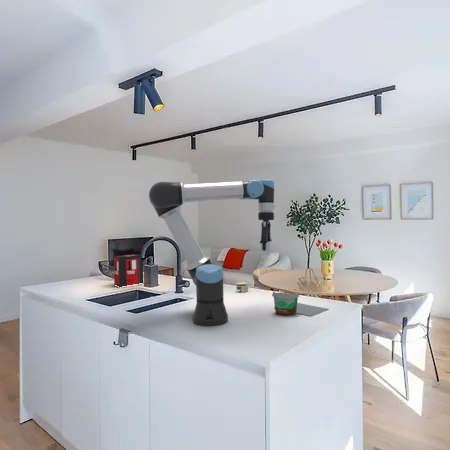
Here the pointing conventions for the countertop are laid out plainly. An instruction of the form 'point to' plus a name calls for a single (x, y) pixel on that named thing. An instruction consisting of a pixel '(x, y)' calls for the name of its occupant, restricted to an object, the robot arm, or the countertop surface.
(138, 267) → the cleaning product box
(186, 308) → the countertop surface
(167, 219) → the robot arm
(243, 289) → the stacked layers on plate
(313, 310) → the rubber mat
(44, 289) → the countertop surface
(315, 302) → the countertop surface
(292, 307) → the food container
